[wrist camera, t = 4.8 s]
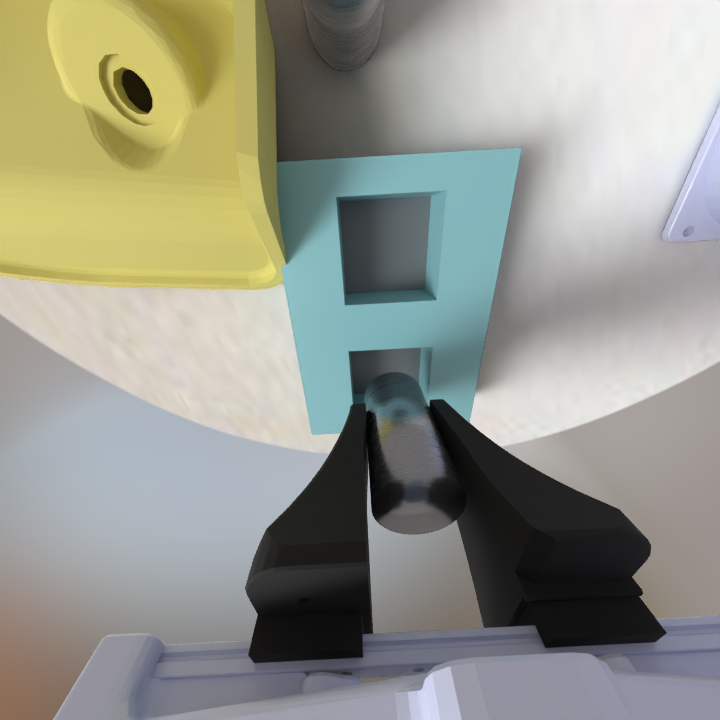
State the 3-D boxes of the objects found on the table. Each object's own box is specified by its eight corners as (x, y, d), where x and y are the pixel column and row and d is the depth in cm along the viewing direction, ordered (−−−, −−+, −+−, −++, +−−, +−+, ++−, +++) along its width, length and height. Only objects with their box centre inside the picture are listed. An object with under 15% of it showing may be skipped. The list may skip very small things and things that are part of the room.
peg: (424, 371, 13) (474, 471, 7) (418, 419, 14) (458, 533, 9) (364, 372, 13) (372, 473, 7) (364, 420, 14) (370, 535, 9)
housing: (486, 163, 13) (522, 147, 10) (452, 398, 19) (468, 426, 16) (281, 175, 13) (261, 162, 10) (317, 405, 19) (311, 434, 16)
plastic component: (252, -148, 7) (258, 229, 7) (293, 108, 14) (295, 290, 15) (-841, -359, 5) (-760, 184, 5) (-135, 68, 12) (-120, 282, 13)
